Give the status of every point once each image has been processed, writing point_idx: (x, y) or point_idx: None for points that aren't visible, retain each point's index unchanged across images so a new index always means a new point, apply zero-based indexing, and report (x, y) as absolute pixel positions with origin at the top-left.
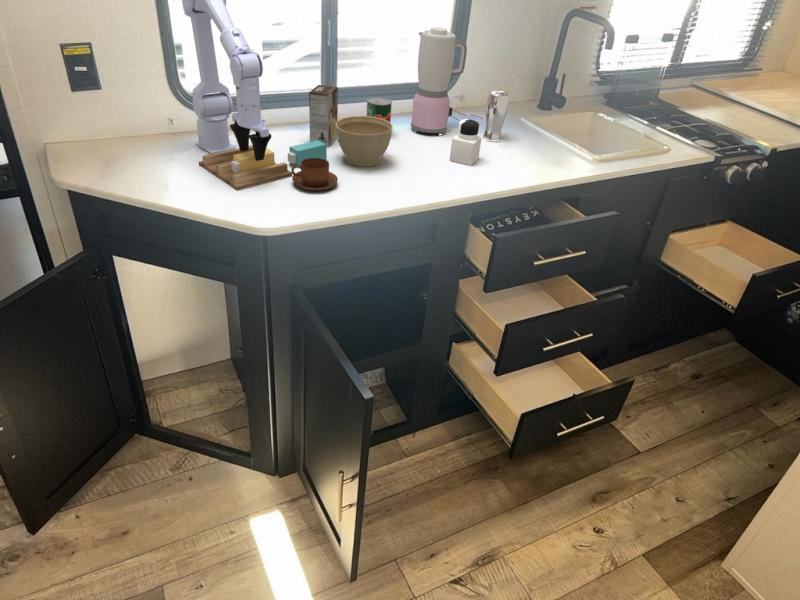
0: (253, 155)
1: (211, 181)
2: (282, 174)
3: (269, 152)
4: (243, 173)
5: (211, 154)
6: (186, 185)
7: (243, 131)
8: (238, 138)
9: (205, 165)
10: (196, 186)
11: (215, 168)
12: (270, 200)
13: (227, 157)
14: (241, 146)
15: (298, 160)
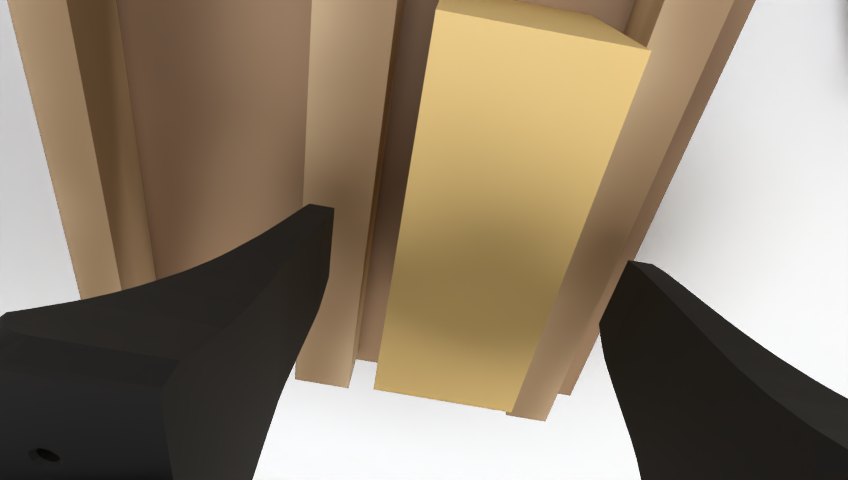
0: (516, 289)
1: (366, 384)
2: (724, 42)
3: (601, 104)
4: (547, 360)
5: (89, 291)
6: (332, 464)
7: (241, 418)
8: (275, 407)
9: None
10: (371, 449)
11: None
12: (828, 351)
13: (129, 173)
14: (313, 308)
15: None
